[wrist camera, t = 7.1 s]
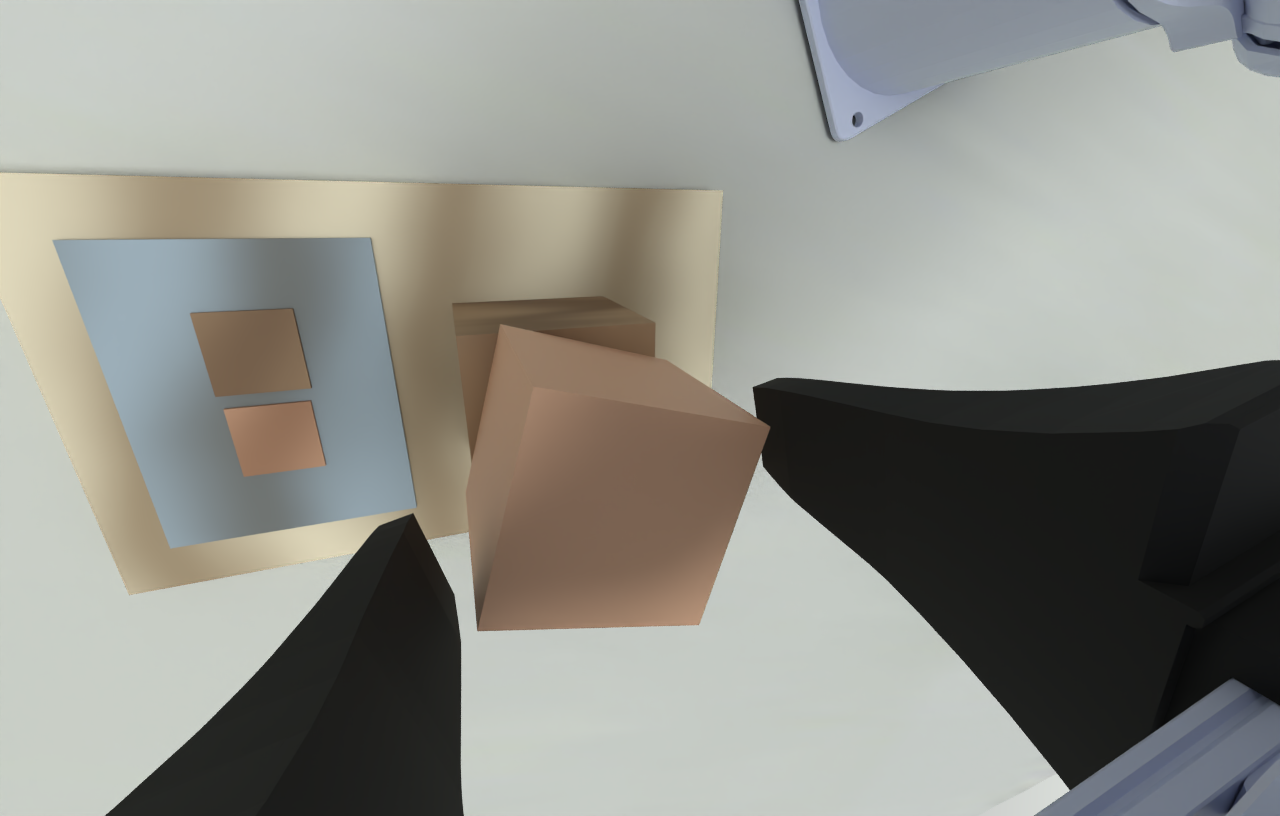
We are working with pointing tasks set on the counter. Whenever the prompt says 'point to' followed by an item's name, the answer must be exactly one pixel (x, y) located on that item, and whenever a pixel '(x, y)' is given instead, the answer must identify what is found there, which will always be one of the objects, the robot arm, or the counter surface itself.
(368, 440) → the baseplate
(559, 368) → the terracotta block
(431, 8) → the counter surface
